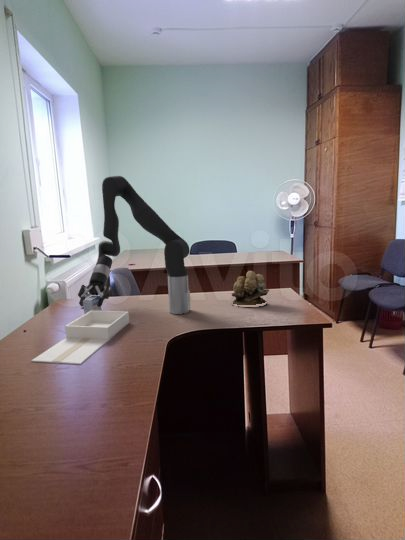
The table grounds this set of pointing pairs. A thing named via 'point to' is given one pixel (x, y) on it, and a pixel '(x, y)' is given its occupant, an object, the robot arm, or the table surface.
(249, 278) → the brown lumpy mound
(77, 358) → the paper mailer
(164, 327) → the table surface
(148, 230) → the robot arm
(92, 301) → the medicine box
